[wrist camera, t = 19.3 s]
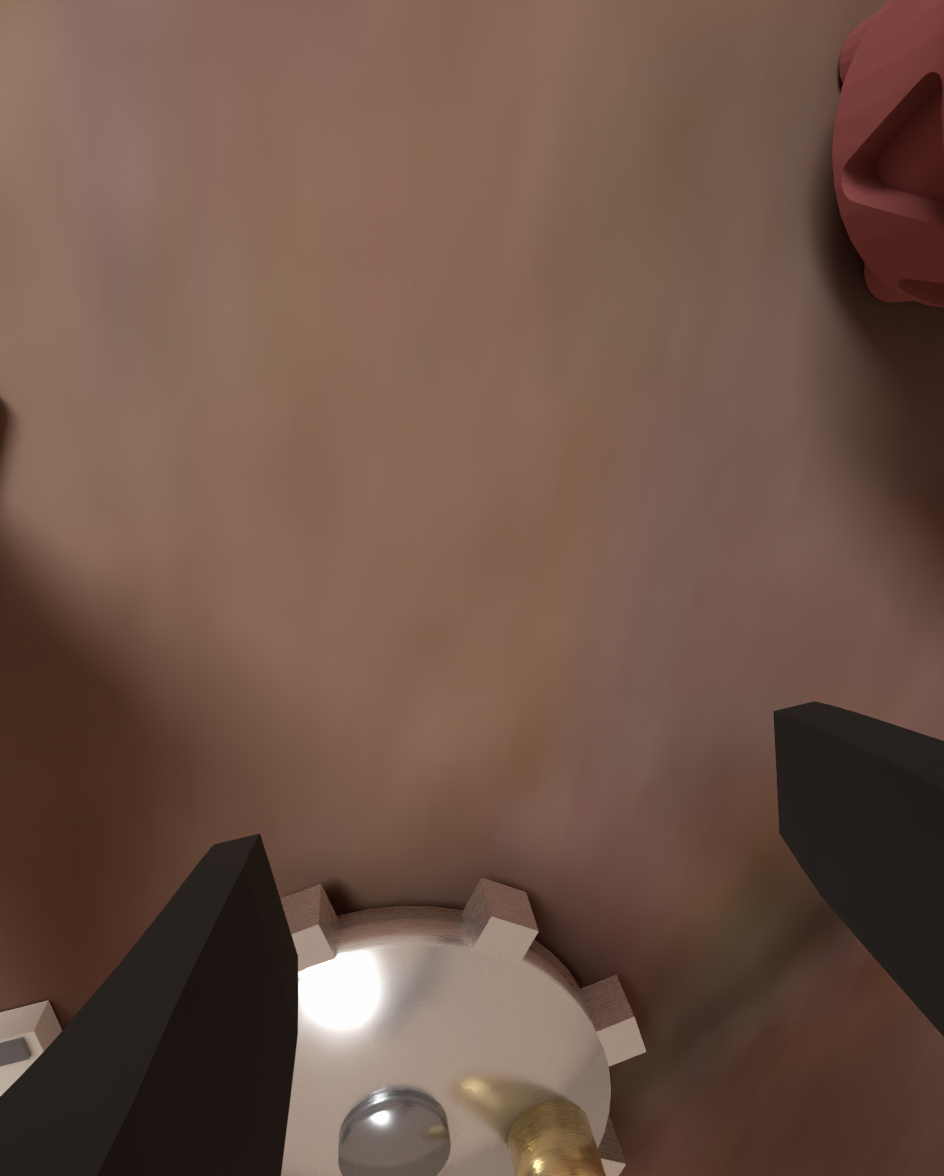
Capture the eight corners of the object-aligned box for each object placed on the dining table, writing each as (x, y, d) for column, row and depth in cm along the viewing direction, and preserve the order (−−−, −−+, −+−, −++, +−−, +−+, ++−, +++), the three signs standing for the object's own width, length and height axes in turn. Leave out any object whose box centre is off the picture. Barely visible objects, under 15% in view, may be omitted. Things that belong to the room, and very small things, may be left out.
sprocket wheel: (26, 994, 19) (-65, 1174, 15) (555, 794, 20) (610, 913, 16) (254, 1321, 24) (234, 1527, 20) (676, 1150, 25) (743, 1315, 21)
